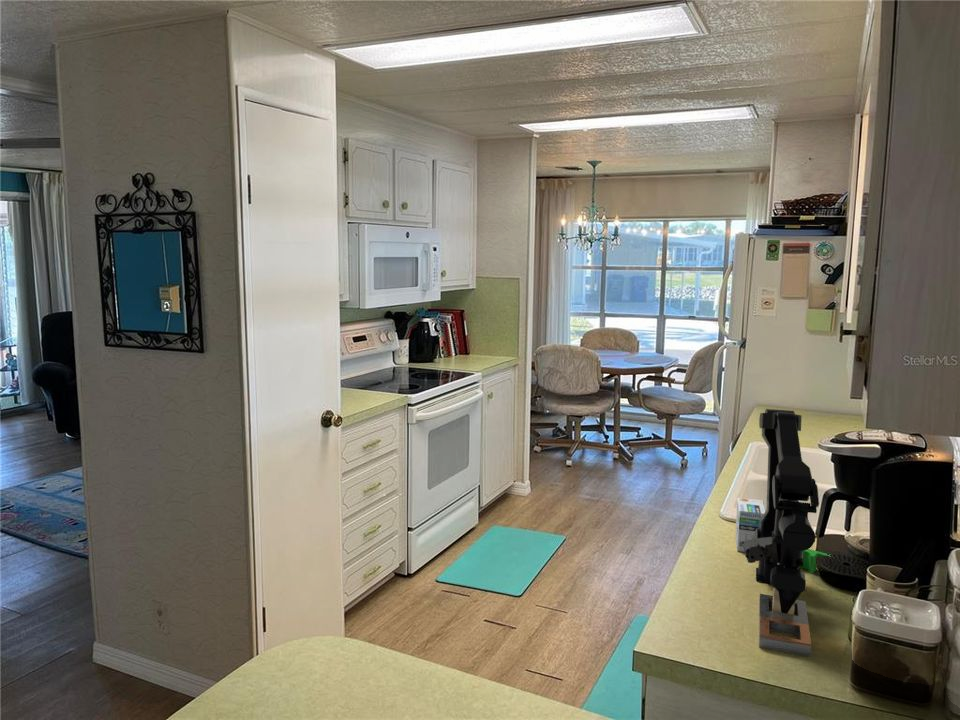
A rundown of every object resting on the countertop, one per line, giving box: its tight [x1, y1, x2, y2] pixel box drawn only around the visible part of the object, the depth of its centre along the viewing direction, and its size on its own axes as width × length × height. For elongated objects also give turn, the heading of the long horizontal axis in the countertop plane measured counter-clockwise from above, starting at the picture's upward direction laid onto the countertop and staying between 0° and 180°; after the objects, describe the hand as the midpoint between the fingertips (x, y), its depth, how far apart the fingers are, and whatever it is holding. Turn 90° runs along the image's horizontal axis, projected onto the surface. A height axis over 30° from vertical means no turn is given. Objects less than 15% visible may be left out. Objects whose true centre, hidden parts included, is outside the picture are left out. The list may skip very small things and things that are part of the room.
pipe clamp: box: [799, 548, 831, 575], centre depth 173 cm, size 11×4×5 cm, turn 49°
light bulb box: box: [734, 497, 766, 553], centre depth 185 cm, size 11×7×11 cm, turn 164°
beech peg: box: [771, 588, 795, 615], centre depth 150 cm, size 4×4×8 cm
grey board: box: [758, 593, 812, 658], centre depth 146 cm, size 19×9×2 cm, turn 159°
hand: (783, 602), depth 150 cm, fingers open, 9 cm apart
